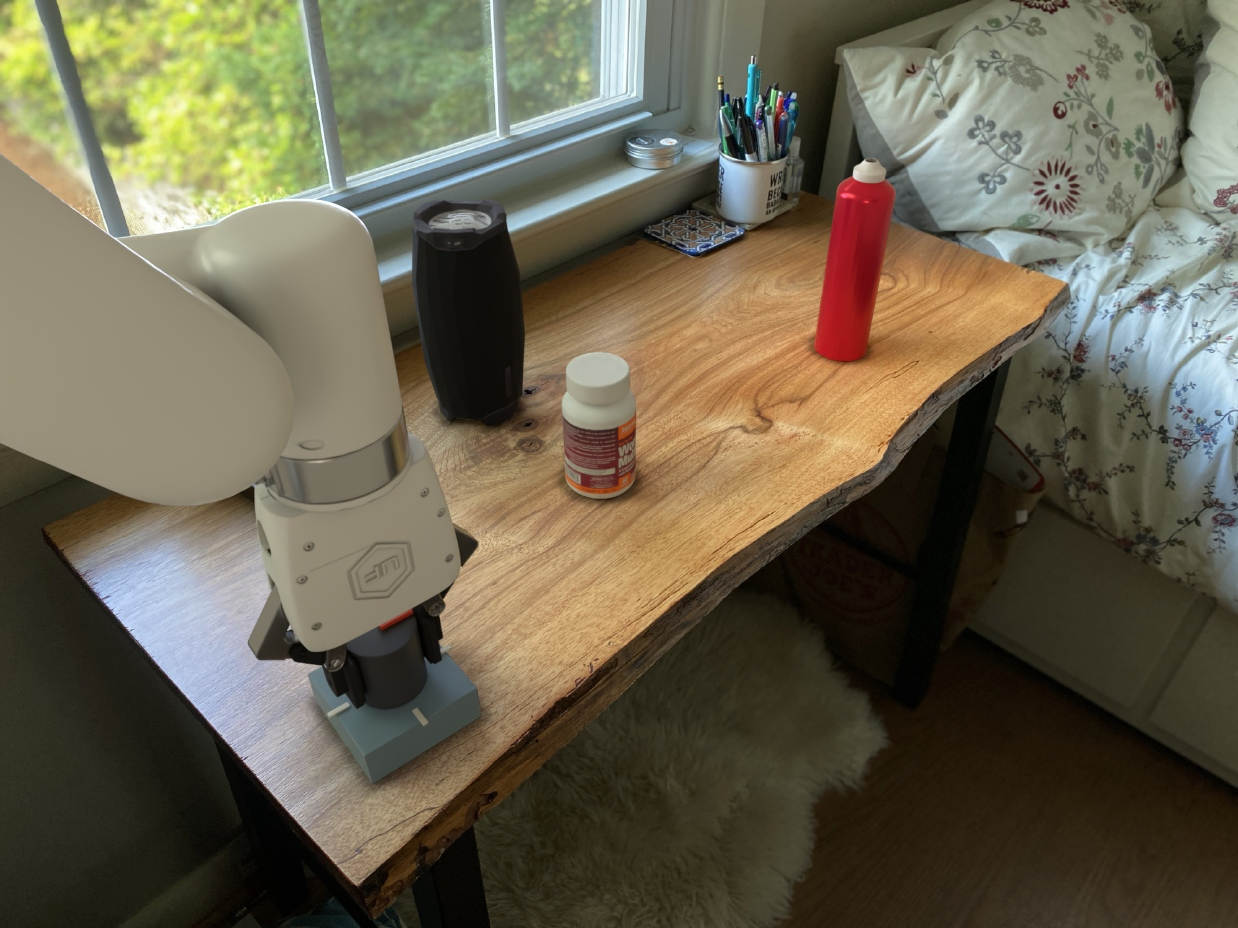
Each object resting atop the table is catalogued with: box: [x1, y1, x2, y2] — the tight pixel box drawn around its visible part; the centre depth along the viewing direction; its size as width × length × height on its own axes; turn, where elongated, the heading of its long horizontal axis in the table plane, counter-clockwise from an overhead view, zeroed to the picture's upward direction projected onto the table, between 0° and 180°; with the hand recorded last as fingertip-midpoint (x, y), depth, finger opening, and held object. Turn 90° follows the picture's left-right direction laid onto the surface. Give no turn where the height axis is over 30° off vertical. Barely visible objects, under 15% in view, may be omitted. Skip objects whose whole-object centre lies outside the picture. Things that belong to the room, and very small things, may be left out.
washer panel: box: [307, 643, 482, 784], centre depth 61 cm, size 9×9×3 cm
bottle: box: [813, 157, 897, 362], centre depth 92 cm, size 6×6×20 cm
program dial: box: [346, 609, 427, 709], centre depth 59 cm, size 5×5×5 cm
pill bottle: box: [561, 351, 637, 500], centre depth 78 cm, size 6×6×11 cm
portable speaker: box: [411, 198, 526, 427], centre depth 84 cm, size 9×9×20 cm
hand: (388, 668), depth 60 cm, fingers closed on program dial, 4 cm apart
